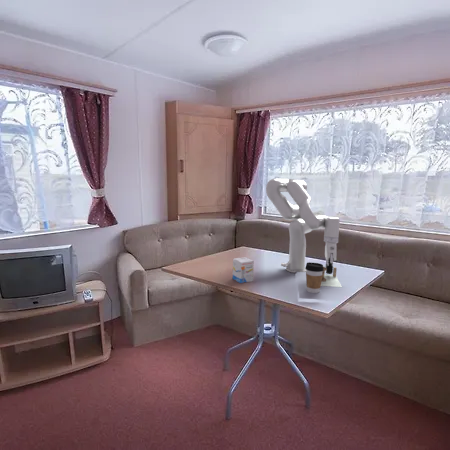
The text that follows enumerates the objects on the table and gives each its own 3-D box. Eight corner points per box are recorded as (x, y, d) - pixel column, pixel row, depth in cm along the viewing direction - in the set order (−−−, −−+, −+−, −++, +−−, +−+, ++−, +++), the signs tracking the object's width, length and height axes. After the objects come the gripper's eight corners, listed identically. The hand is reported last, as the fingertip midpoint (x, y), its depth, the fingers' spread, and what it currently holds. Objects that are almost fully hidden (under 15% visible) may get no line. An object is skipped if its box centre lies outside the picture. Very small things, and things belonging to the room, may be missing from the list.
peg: (332, 274, 172) (333, 260, 170) (326, 273, 172) (327, 259, 171) (331, 272, 175) (332, 258, 173) (325, 272, 175) (326, 258, 174)
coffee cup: (301, 290, 155) (303, 261, 152) (318, 290, 155) (319, 261, 153) (307, 297, 146) (309, 266, 144) (324, 296, 147) (326, 266, 145)
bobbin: (315, 281, 164) (315, 269, 163) (314, 277, 170) (314, 266, 169) (326, 282, 163) (327, 270, 162) (325, 278, 169) (326, 266, 168)
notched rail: (315, 275, 174) (315, 266, 173) (314, 274, 176) (315, 266, 175) (336, 276, 172) (336, 268, 171) (335, 275, 174) (336, 267, 173)
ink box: (239, 283, 164) (240, 262, 162) (232, 278, 171) (232, 258, 169) (253, 281, 168) (254, 260, 166) (245, 276, 175) (246, 256, 173)
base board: (316, 288, 158) (316, 285, 158) (312, 276, 177) (312, 274, 176) (342, 290, 156) (342, 287, 156) (335, 278, 175) (335, 275, 174)
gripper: (341, 242, 162) (338, 276, 165) (335, 236, 178) (333, 267, 181) (326, 242, 163) (323, 275, 166) (322, 236, 179) (320, 266, 182)
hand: (328, 271), depth 173 cm, fingers closed on peg, 3 cm apart
